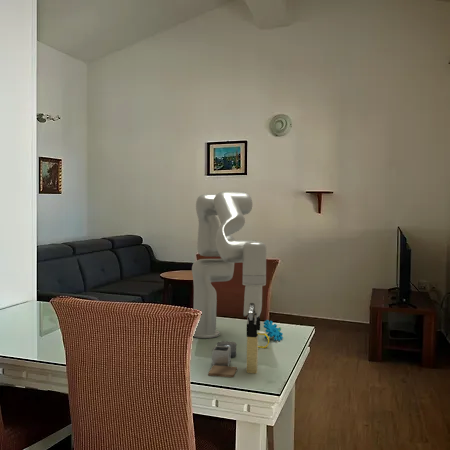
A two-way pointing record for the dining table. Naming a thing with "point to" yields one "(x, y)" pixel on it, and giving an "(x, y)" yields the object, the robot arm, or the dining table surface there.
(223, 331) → the dining table surface
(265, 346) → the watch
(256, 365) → the tan wooden bar
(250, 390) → the dining table surface
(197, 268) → the robot arm
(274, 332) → the gear
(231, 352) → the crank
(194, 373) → the dining table surface
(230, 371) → the board
